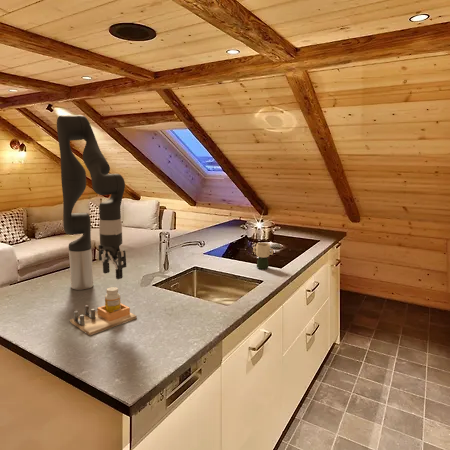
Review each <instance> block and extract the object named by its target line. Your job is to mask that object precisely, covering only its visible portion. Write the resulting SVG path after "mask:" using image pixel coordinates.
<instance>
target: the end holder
mask: <svg viewBox="0 0 450 450" xmlns="http://www.w3.org/2000/svg"><path fill="white" fill-rule="evenodd" d="M96 311H98V315H100V316H101V317H103V318H105V319H107V320H108V321H112V320H115V319H118V318H120V317H123V316H126V315H129V314H130V313H131V309H130V307H129V306H127V305H126V304H123V303H121V310H118V311H115V312H112V313H109V312H107V311H106V309H105V305H102V306H100V307H97V309H96Z"/></svg>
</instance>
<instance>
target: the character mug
mask: <svg viewBox="0 0 450 450" xmlns="http://www.w3.org/2000/svg"><path fill="white" fill-rule="evenodd" d="M252 251H253V253H255V255H256V256H257V257H258V258H257V261H256V262H257V263H256V268H258V269H262V270H263V269H264V270H265V269H268V268H269V259H268V257H270V255H271V256H272V255H273V254H274V249H273V248H271V244H270V243H269V242H268V243H266V242H257V244H256V246H253V250H252Z"/></svg>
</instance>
